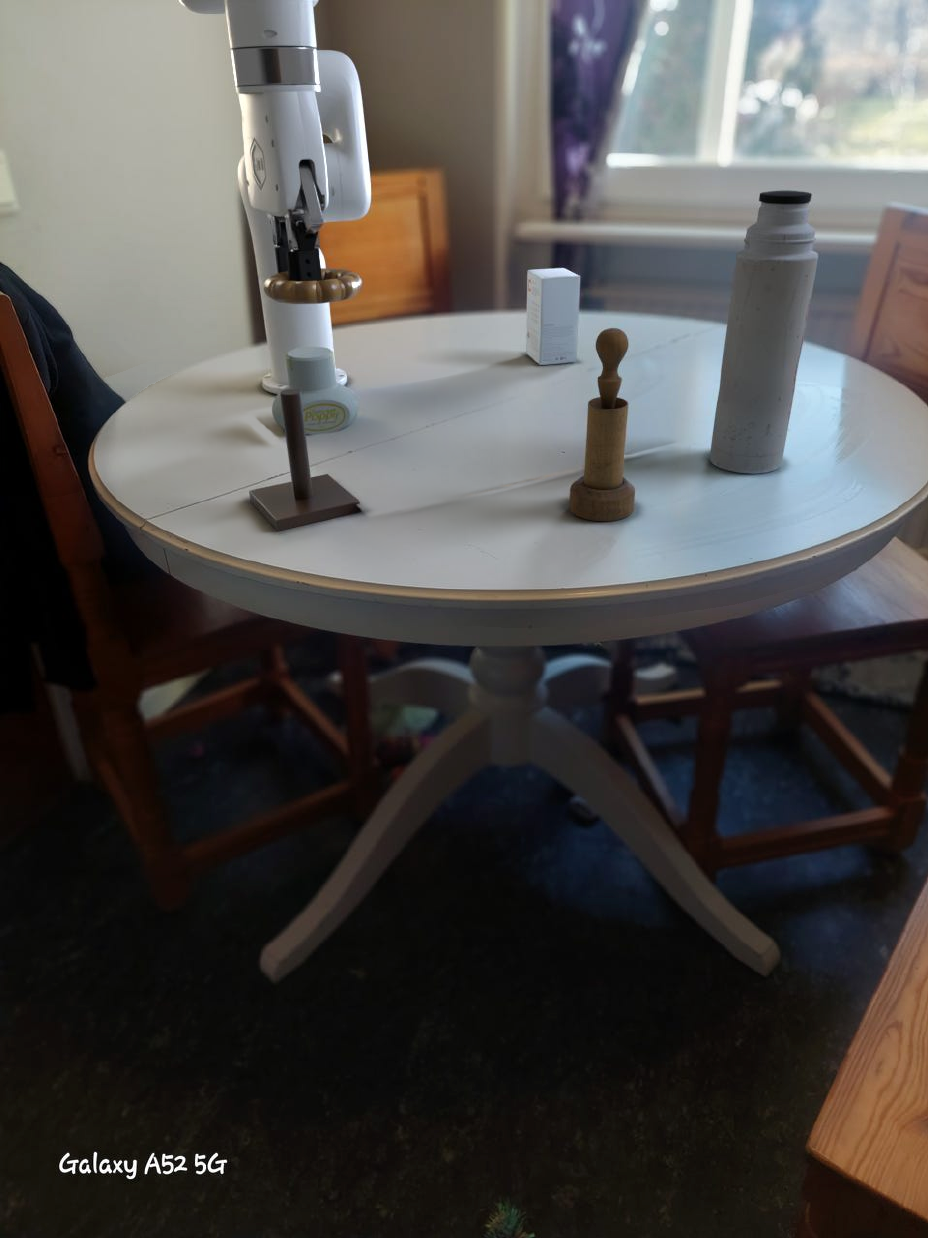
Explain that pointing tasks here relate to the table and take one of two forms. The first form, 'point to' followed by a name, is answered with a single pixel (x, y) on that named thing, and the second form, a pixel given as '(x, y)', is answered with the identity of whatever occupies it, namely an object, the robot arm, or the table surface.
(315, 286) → the lobed golden ring
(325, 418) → the air freshener
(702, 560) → the table surface
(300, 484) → the peg stand
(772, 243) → the thermos bottle
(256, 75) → the robot arm
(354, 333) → the table surface
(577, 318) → the small box
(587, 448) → the mortar and pestle
